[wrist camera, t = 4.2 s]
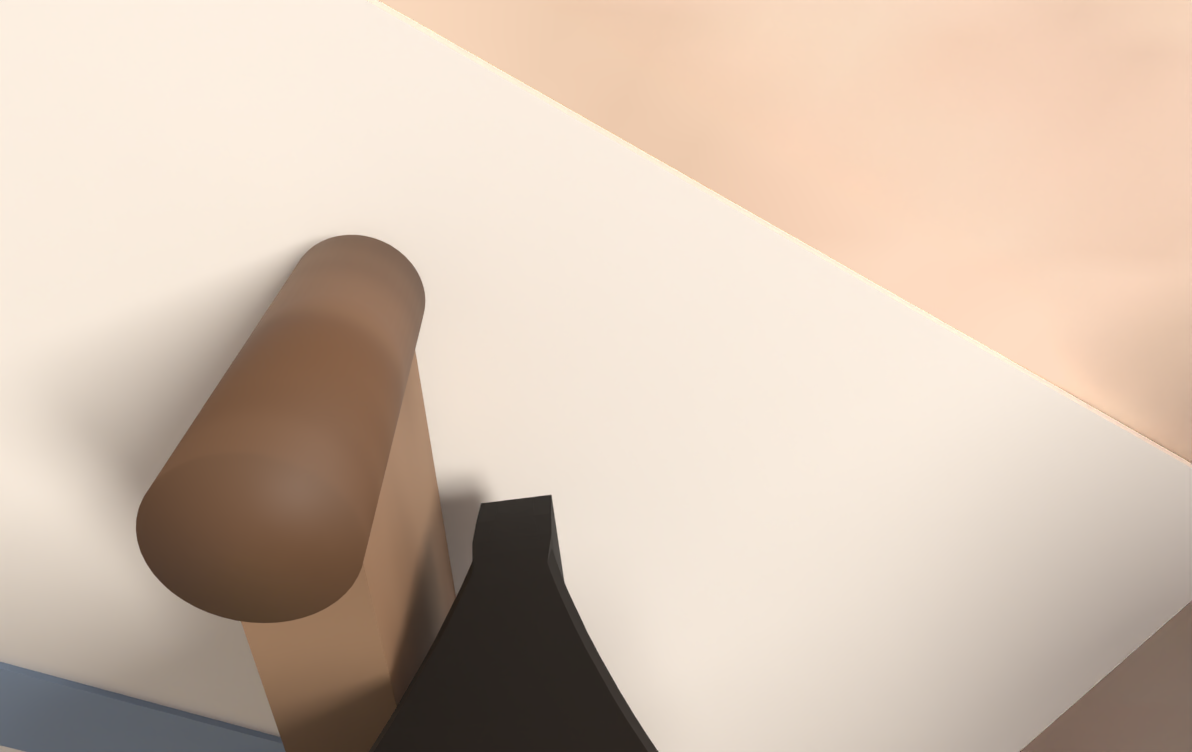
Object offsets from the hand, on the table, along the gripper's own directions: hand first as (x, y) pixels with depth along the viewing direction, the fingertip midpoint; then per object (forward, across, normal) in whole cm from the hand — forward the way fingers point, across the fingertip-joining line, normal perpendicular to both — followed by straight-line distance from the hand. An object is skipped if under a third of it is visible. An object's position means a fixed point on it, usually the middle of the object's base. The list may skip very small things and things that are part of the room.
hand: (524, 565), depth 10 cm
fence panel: (+1, +2, +1) cm, 2 cm away
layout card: (+2, +4, +5) cm, 7 cm away
